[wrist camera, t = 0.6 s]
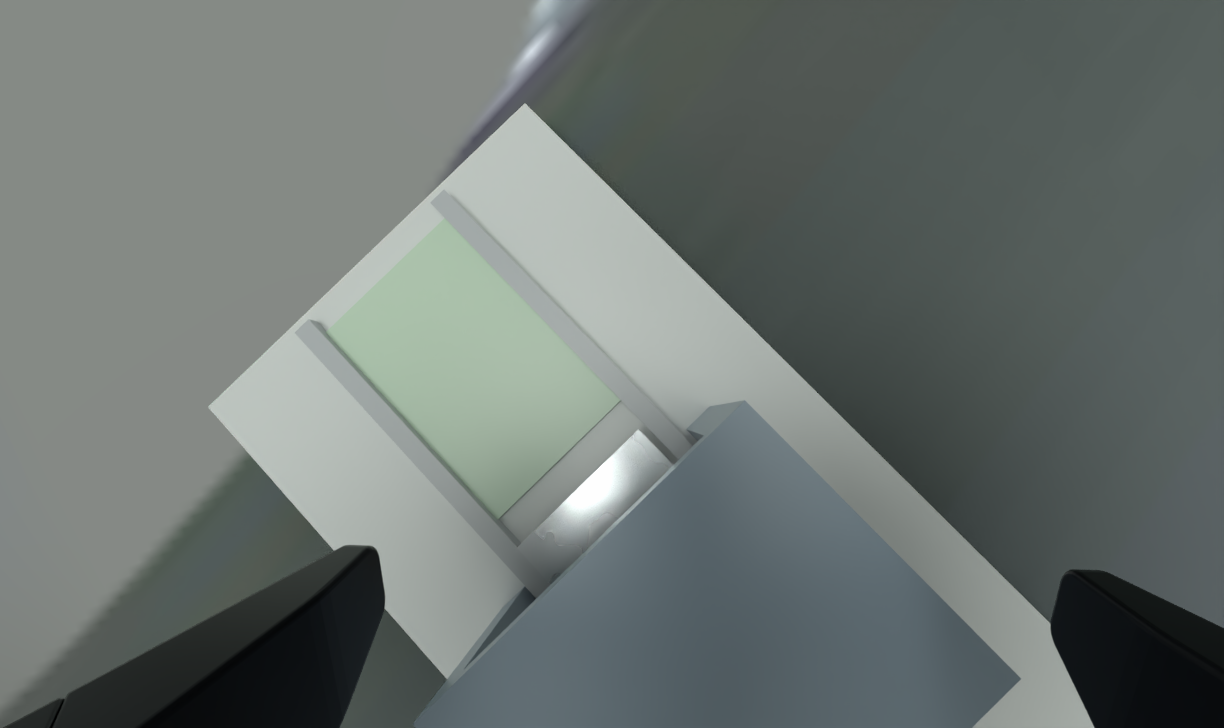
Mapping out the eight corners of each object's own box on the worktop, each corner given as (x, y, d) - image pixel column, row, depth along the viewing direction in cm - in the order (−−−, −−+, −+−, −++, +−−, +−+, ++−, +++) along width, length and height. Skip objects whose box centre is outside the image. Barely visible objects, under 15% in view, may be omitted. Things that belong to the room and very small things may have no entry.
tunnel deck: (1070, 665, 21) (1439, 884, 11) (758, 976, 20) (855, 1475, 11) (537, 135, 23) (457, -66, 13) (253, 407, 23) (-34, 401, 13)
